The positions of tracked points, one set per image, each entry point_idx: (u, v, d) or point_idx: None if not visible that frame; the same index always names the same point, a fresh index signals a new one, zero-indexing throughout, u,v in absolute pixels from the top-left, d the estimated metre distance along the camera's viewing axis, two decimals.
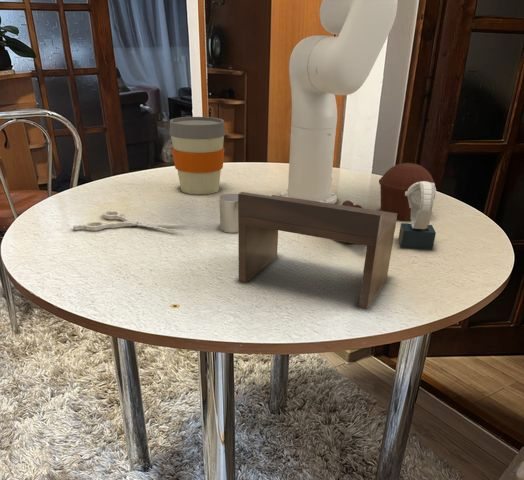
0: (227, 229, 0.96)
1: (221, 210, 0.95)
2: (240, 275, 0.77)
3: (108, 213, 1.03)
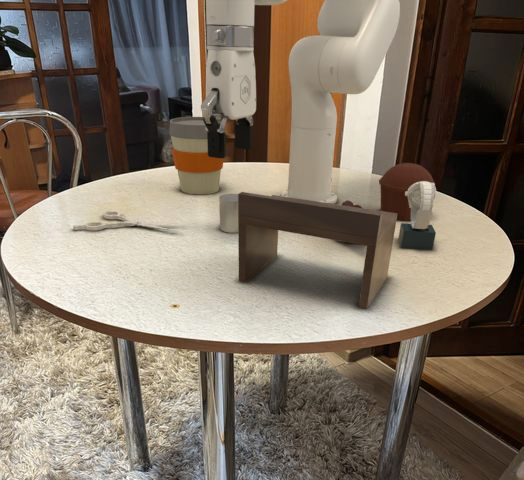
0: (227, 229, 0.96)
1: (221, 210, 0.95)
2: (240, 275, 0.77)
3: (108, 213, 1.03)
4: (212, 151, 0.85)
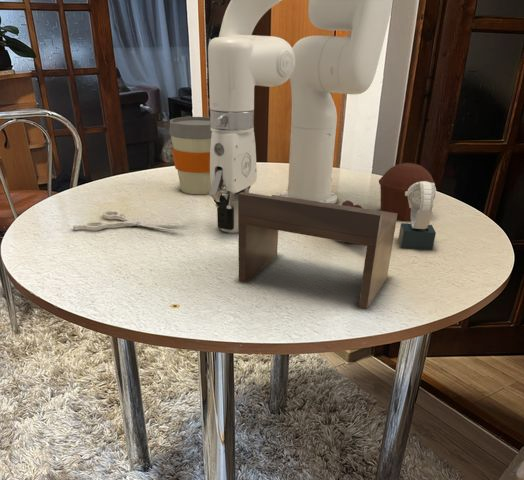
0: None
1: None
2: (240, 275, 0.77)
3: (108, 213, 1.03)
4: (222, 224, 0.94)
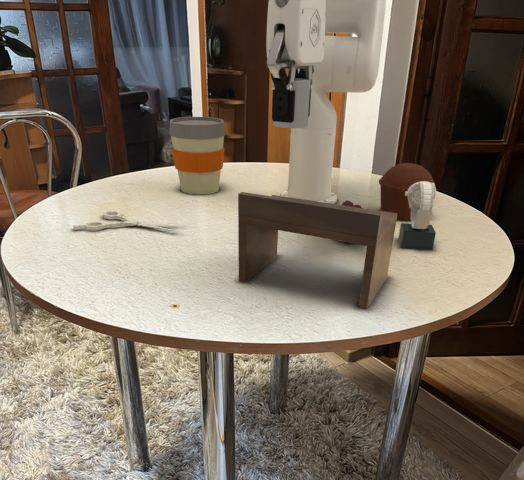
0: (283, 123, 0.72)
1: None
2: (240, 275, 0.77)
3: (108, 213, 1.03)
4: (278, 114, 0.70)
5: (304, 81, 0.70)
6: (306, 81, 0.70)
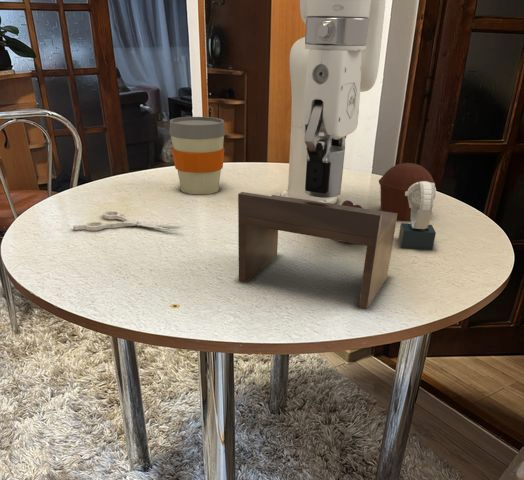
0: None
1: None
2: (240, 275, 0.77)
3: (108, 213, 1.03)
4: (312, 185, 0.69)
5: (339, 152, 0.68)
6: (341, 152, 0.68)
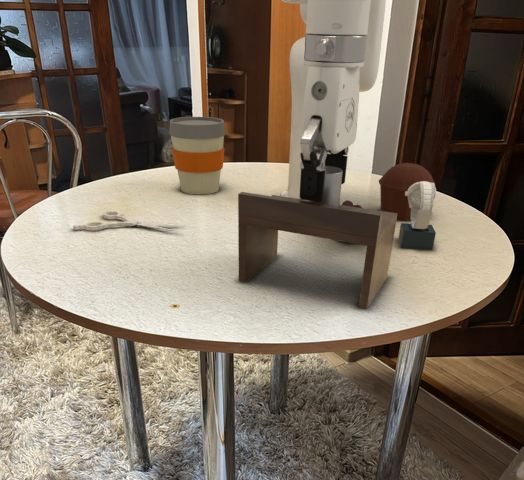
0: None
1: None
2: (240, 275, 0.77)
3: (108, 213, 1.03)
4: (307, 193, 0.68)
5: (337, 174, 0.69)
6: (339, 173, 0.70)
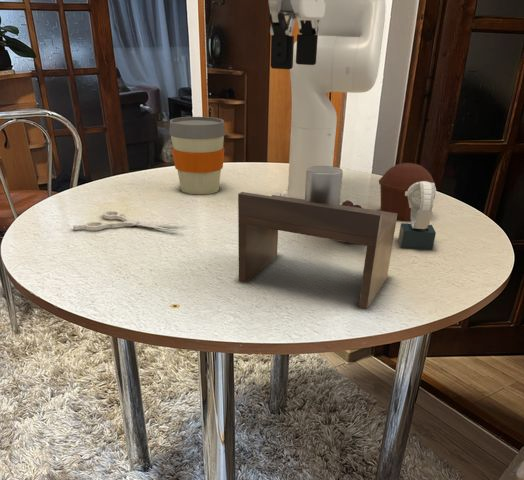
0: None
1: (309, 187, 0.71)
2: (240, 275, 0.77)
3: (108, 213, 1.03)
4: (277, 60, 0.71)
5: (337, 174, 0.69)
6: (339, 173, 0.70)
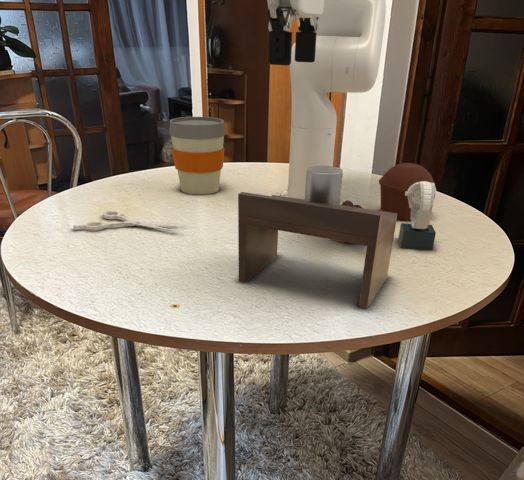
0: None
1: (309, 187, 0.71)
2: (240, 275, 0.77)
3: (108, 213, 1.03)
4: (275, 56, 0.71)
5: (337, 174, 0.69)
6: (339, 173, 0.70)
